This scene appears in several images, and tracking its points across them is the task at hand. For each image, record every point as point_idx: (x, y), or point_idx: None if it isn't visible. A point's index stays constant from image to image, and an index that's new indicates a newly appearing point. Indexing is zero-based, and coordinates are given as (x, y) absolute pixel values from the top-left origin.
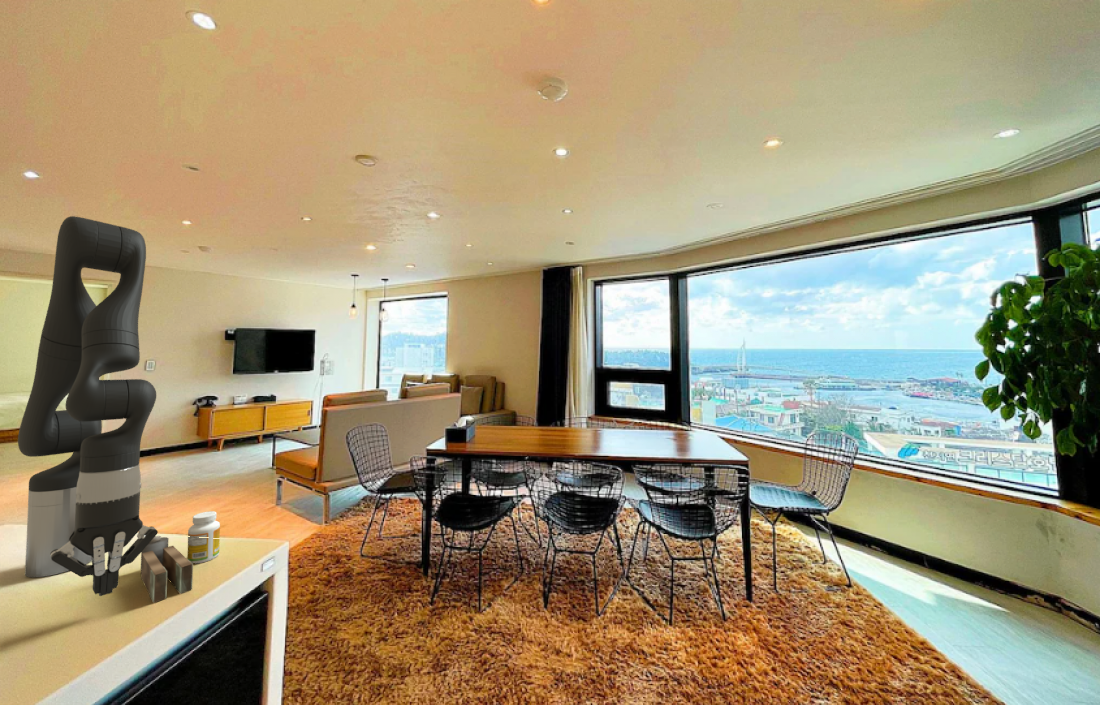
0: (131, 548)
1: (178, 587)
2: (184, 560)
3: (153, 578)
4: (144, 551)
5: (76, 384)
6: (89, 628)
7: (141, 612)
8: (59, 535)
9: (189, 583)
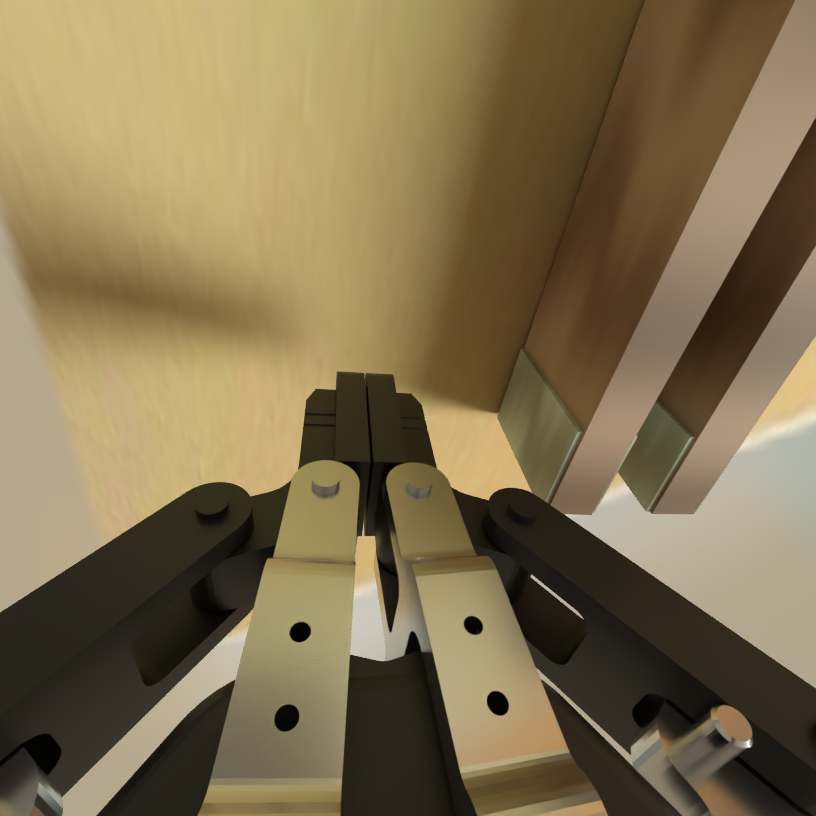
0: (566, 593)
1: None
2: (728, 442)
3: (536, 493)
4: None
5: None
6: (295, 421)
7: (443, 448)
8: None
9: None
